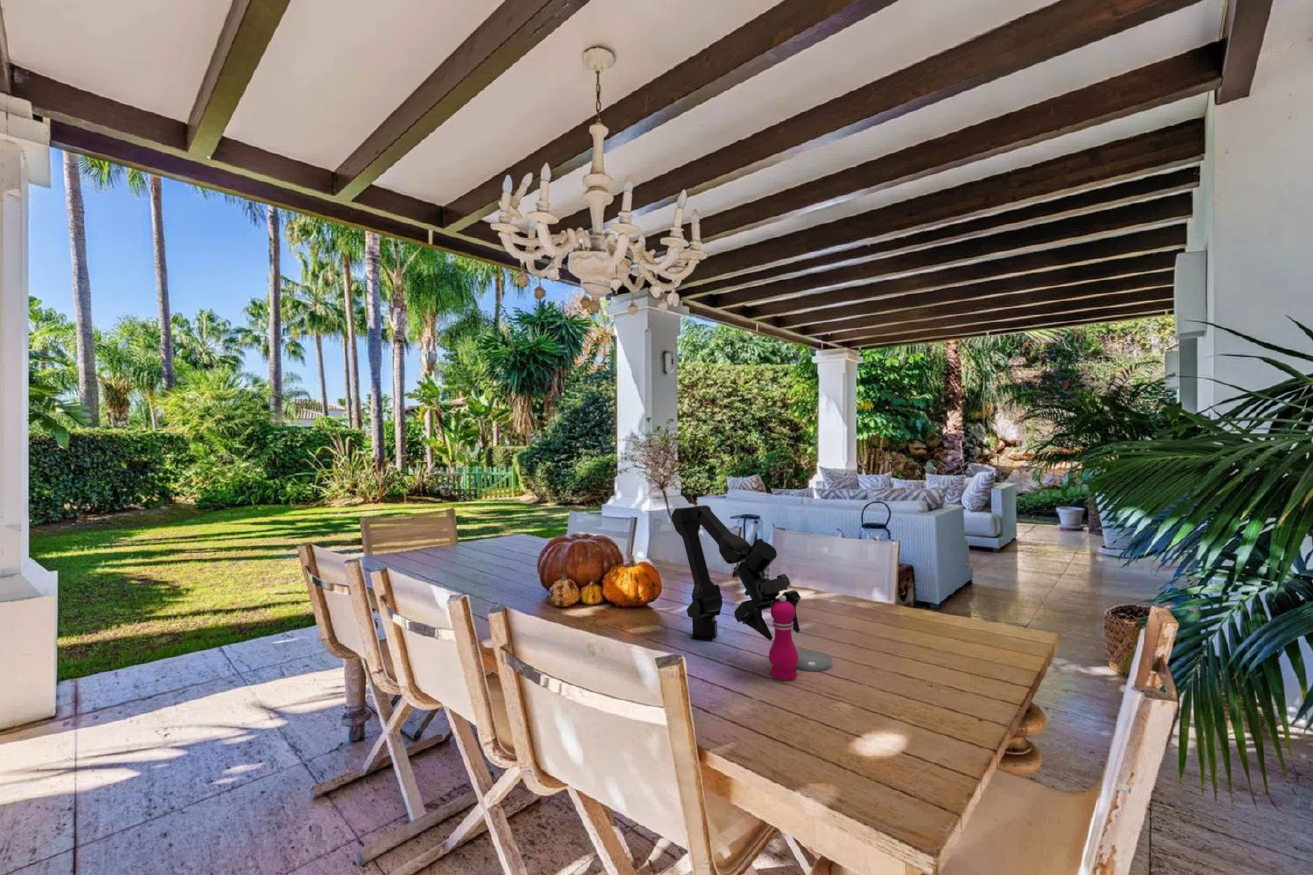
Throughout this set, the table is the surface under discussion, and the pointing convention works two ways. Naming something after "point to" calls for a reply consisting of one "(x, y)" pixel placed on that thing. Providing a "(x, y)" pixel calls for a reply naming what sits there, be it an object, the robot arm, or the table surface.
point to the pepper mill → (783, 641)
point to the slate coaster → (813, 661)
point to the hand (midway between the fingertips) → (785, 635)
